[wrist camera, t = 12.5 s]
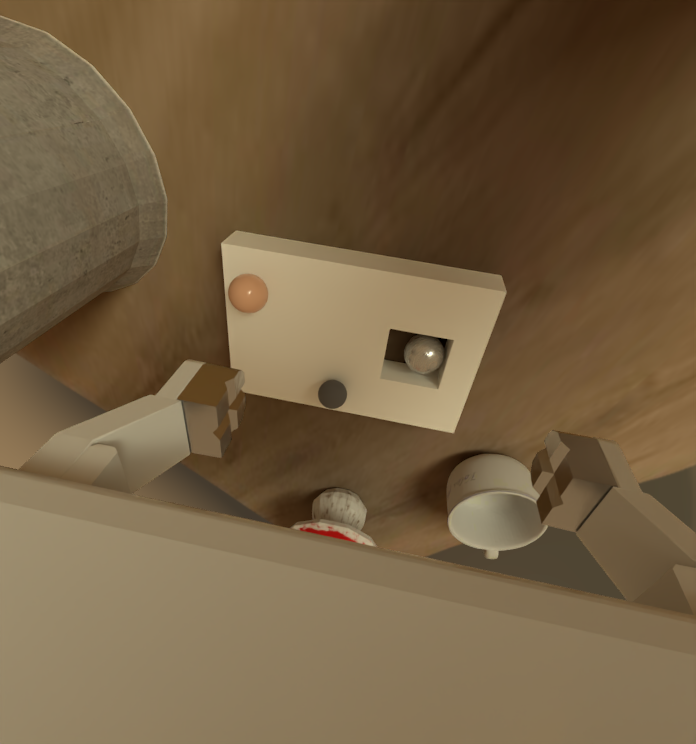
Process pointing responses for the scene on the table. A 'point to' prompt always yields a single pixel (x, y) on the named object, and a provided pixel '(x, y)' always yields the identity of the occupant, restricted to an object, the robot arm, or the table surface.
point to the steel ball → (423, 353)
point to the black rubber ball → (332, 394)
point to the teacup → (493, 504)
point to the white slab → (357, 327)
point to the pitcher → (67, 187)
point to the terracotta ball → (248, 293)
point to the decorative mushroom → (337, 517)
